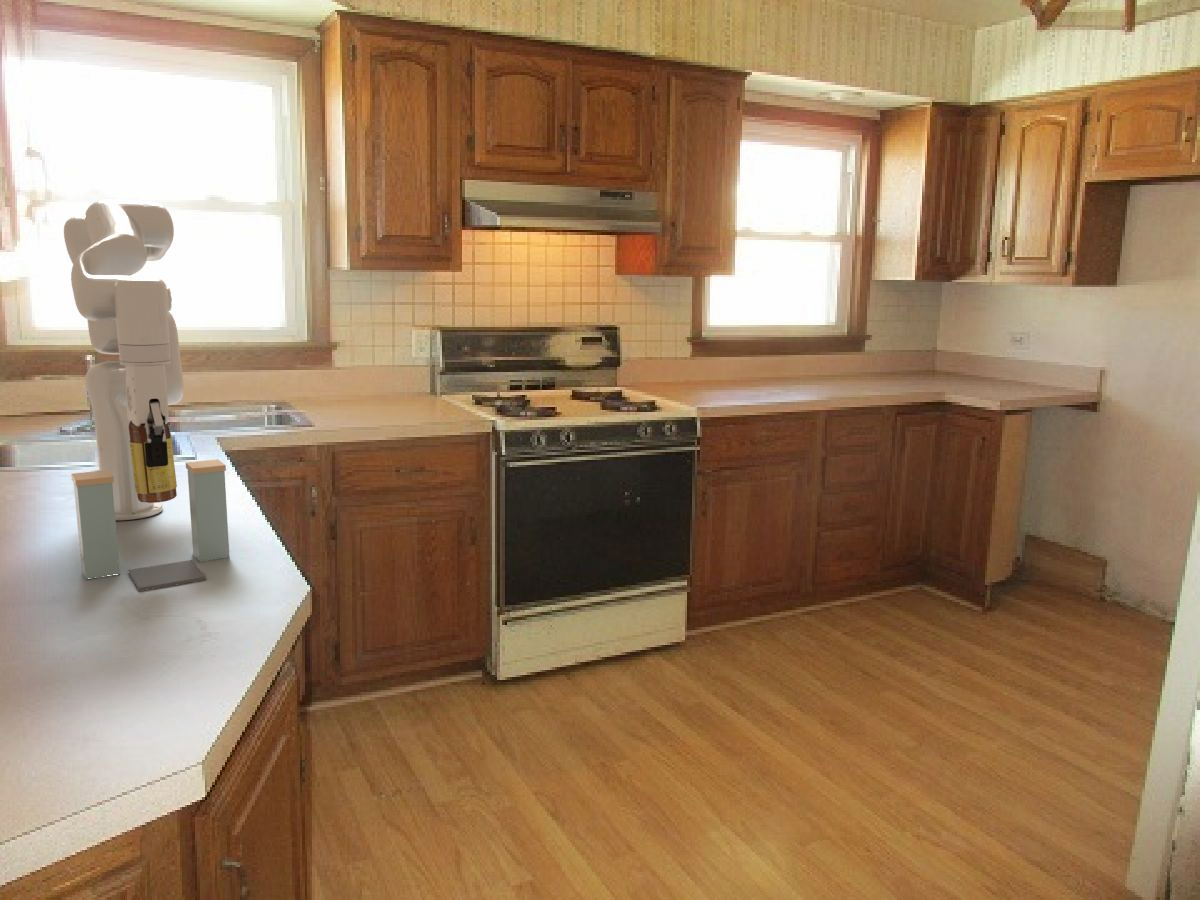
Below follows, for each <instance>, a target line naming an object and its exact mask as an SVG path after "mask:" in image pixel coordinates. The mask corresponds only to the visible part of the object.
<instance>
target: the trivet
mask: <svg viewBox="0 0 1200 900" xmlns="http://www.w3.org/2000/svg"><path fill="white" fill-rule="evenodd" d="M127 571H128V572H129V573H128V575H129V574H130V575H129V577H130V576H131V577H132V578H131V577H130V578H131V580H132V579H133V580H132V582H133V581H134V582H135V584H136V585H135V584H134V585H135V587H136V586H137V587H136V588H138V589H139V590H138V589H137V590H138V592H141V591H140V590H145V591H147V590H146V589H151V590H153V589H152V588H156V589H159V588H158V587H162V588H165V587H164V586H168V587H171V586H170V585H174V586H177V585H176V584H180V585H183V584H182V583H185V584H189V583H188V582H191V583H196V582H195V581H197V582H201V581H202V580H203V581H207V576H206V575H205V574H204V572H203V571H202V570H201V569H200V568H199V567H198V565H197V564H196V563H195V562H194V560H193V559H190V560H189V559H188V560H181V561H177V562H176V561H175V562H171V563H164V564H158V565H150V566H145V567H138V568H133V569H128V570H127ZM134 582H133V583H134Z"/></svg>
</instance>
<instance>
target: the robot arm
mask: <svg viewBox="0 0 1200 900" xmlns="http://www.w3.org/2000/svg"><path fill="white" fill-rule="evenodd" d="M174 227H175V226H174V222H173V218H172V216H171V214H170V212H169V210H168V209H167V208H166V207H165V206H164V205H162V204H160V203H158V202H152V201H147V200H146V201H142V200H129V199H128V200H127V199H125V200H124V199H113V198H112V199H102V200H98V201H94V202H93V203H92V204H90V205H89V206H88V208H87V209H86V211H85V215H84V214H83V215H77V216H73V217H70V218H69V219H67V220H66V222H65V223H64V226H63V238H64V243H65V247H66V251H67V254H68V256H69V259H70V261H71V263H72V268H71V273H70V274H71V275H70V276H71V277H70V281H71V287H72V292H73V297H74V302H75V306H76V308H77V310H78V313H79V314H80V315H81V316H82V317H83V318H84V319H86V320H87V328H88V334H89V335H88V336H89V339H90V343H91V346H92V347H93V350H95V351H96V352H97V353H100V354H104V355H118V359H119V360H108V361H103V362H98V363H96V364H93V365H92V366H91V367H89V369H88V370H87V372H86V375H85V384H86V390H87V393H88V397H89V401H90V406H91V411H92V415H93V422H94V430H95V439H96V451H97V458H98V459H97V460H98V471H104V470H109V472H110V473H111V474H112V476H113V479H114V483H112V485H113V497H114V509H115V521H128V520H129V521H130V520H138V519H143V518H148V517H152V516H155V515H157V514H160V512H162V511H163V509H164V508H163V504H162V502H156V503H148V502H140V501H139V500H138V496H137V493H136V490H135V481H134V472H133V464H132V456H131V448H130V434H129V423H130V421H131V420H132V423H133V424H135V425H136V426H138V427H139V426H141V424H143V423H144V428H145V435H146V441H147V443H145V455H146V465H147V467H158V466H167V465H168V453H167V442H166V436H165V429H164V425H165V424H166V423H167V424H168V423H169V418H170V417H169V406H172V405H177V404H179V403H180V401H182V399H183V396H184V390H185V388H184V376H183V375H184V374H183V367H182V358H181V350H180V341H179V335H178V334H179V333H178V328H177V324H176V320H175V318H174V317H173V314H172V313H171V310H172V294H171V288H170V286H167V284H166V282H165V281H164V280H163V279H161V278H159V277H155V276H148V275H147V276H144V275H139V276H138V275H134V274H136V273H138V272H139V271H140V270H142V269H143V268H144V266H145V265H146V263H147V262H155V261H156V262H157V261H159V260H161V259H162V258H164V256H165V255H166V253H167V252H168V251H169V249H170V247H171V245H172V243H173V241H174V235H175V233H174V232H175V230H174V229H175V228H174ZM157 399H158V400H157ZM162 415H163V416H162ZM163 417H164V419H163ZM147 421H153V423H150V424H148V423H147ZM150 428H151V430H150Z"/></svg>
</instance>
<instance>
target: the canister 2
mask: <svg viewBox="0 0 1200 900" xmlns="http://www.w3.org/2000/svg"><path fill="white" fill-rule="evenodd" d="M185 469H187V483H188V495H189V496H188V497H189V513H190V525H191V529H190V530H191V541H192V554H194V555H195V556H196V557H195V556H194V555H193V556H194V557H195V558H196V560H199V561H203V562H208V561H207V560H209V561H213V559H215V560H220V559H219V558H222V559H226V558H225V557H228V558H230V543H229V542H230V541H229V525H228V509H227V507H228V505H227V492H226V475H225V473H226V472H225V471H227V467H226V464H225V463H224V462H222V461H221V460H219V458H218V459H208V460H207V459H206V460H199V461H188V462H185ZM199 561H198V562H199Z"/></svg>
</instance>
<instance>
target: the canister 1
mask: <svg viewBox="0 0 1200 900" xmlns="http://www.w3.org/2000/svg"><path fill="white" fill-rule="evenodd" d="M70 477H71V481H72V483H73V490H74V491H73V492H74V502H75V513H76V521H77V523H76V524H77V532H78V533H77V535H78V542H79V543H78V545H79V553H80V556H79V557H80V563H81V572H83V573H82V575H83V574H84V575H83V577H84V576H85V577H84V579H85V578H86V579H88V578H95V577H102V576H107V575H113V574H120V575H121V570H120V558H119V548H118V546H119V545H118V535H117V534H118V533H117V522H116V521H117V520H115V509H114V497H113V485H112V483H114V479H113V476H112V474H111V473H110V472H109V470H104V471H99V470H96V471H85V472H83V471H82V472H75V473H71V474H70ZM86 579H85V580H86Z"/></svg>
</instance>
